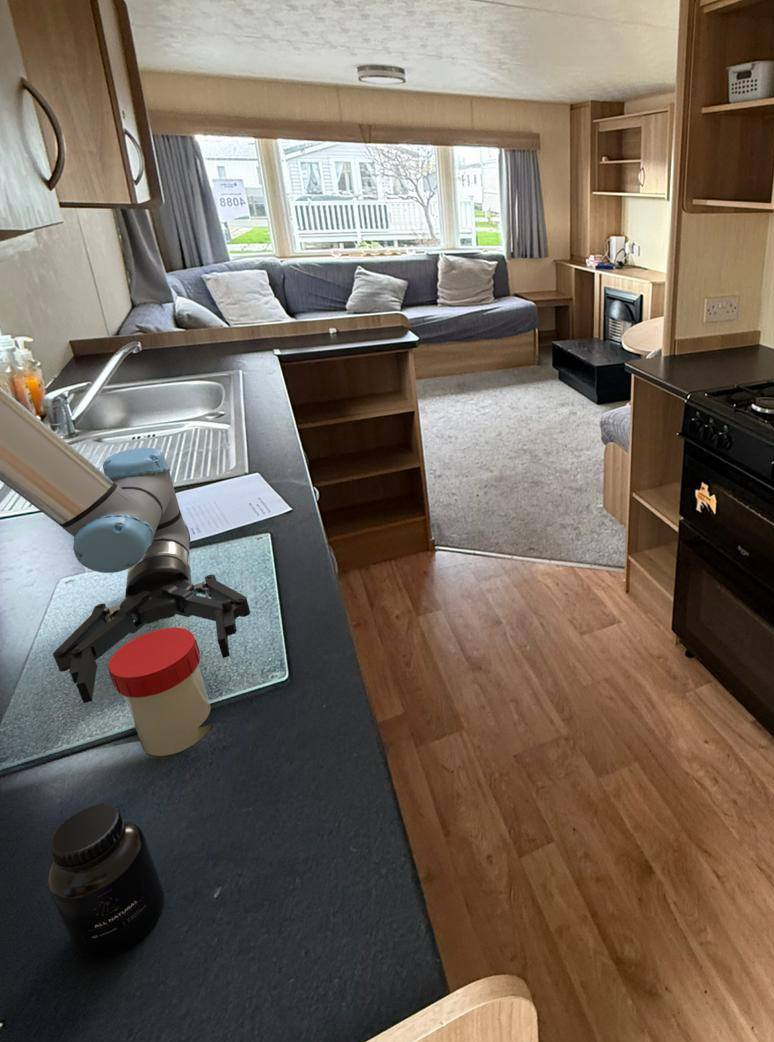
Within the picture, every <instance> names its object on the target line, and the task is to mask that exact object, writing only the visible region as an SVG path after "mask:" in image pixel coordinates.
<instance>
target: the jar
mask: <svg viewBox="0 0 774 1042" xmlns="http://www.w3.org/2000/svg"><path fill="white" fill-rule="evenodd" d="M123 699H124V702H125V704H126V707H127V710H128V712H129V715H130V718H131V721H132V723H133V727H134V728H135V731H136V735H137V737H138V739H139V742H140V745H141V748H142V750H143V751H144V752H145V753H146V754H148V755H150V756H153V757H165V756H171V755H174V754H177V753H180V752H183V751H185V750H188V749H189V748H190V747H192V746H194V745H196V744H197V743H198V742H200V741H201V740H202V739H203V738H205V736H206V735H207V734H208V733H209V732H210V730H211V729H212V727H213V724H209V725H204V726H202V725H203V723H205V721H206V720H207V719H208V717H209V715H210V713H211V709H212V705H211V701H210V698H209V695H208V692H207V688H206V685H205V682H204V679H203V675H202V671H201V668H200V664H198V666H197V668H196V669H195V671H194V672H193V673H192V674H191V675H190V676H189V677H188V678H186V679H185V680H184V681H182V682H181V683H179V684H178V685H176V686H174V687H172V688H170V689H168V690H166V691H164V692H161V693H158V694H155V695H151V696H147V697H139V698H132V697H126V696H123Z"/></svg>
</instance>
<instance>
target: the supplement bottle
mask: <svg viewBox="0 0 774 1042" xmlns="http://www.w3.org/2000/svg"><path fill="white" fill-rule="evenodd" d="M49 848H50V849H49V851H50V853H51V855H52V860H53V862H52V864H51V866H50V869H49V871H48V875H47V880H46V881H47V889H48V892H49V894H50V897H51V899H52V901H53V903H54V905H55V907H56V910H57V912H58V915H59V916H60V919H61V921H62V923H63V925H64V927H65V930H66V932H67V934H68V937H69V938H70V941H71V944H72V945H73V947H74V949H75V950H76V952H77V953H78V954H79V956H82V957H83V958H86V959H89V960H101V959H102V960H103V959H106V958H110V957H113V956H116V955H118V954H120V953H122V952H125V951H126V950H127V949H129V948H130V947H132V946H133V945H135V944H136V943H137V942H139V941H140V940H141V939H142V938H143V937H145V935H146V934H147V933H148V932H149V931H150V930H151V929H152V927H153V926H154V924H155V923H156V922H157V920H158V918H159V916H160V914H161V912H162V910H163V908H164V902H165V893H164V889H163V885H162V883H161V879H160V877H159V874H158V871H157V867H156V865H155V863H154V860H153V857H152V853H151V851H150V848H149V845H148V843H147V840H146V837H145V834H144V833H143V830H142V829H141V828H140V827H139V825H137V824H136V823H133V822H130V821H126V820H124V818H123V817H122V815H121V813H120V810H119V809H118V808H117V807H116V806H114V805H113V804H109V803H99V804H95V805H90V806H88V807H85V808H83V809H81V810H79V811H77V812H76V813H74V814H72V815H71V816H69V817H68V818H67V819H65V820H64V821H63V822H62V823H60V825H59V826H58V827H57V828H56V830H55V831H54V833H52V836H51V839H50V843H49Z"/></svg>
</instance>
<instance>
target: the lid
mask: <svg viewBox="0 0 774 1042" xmlns="http://www.w3.org/2000/svg"><path fill="white" fill-rule="evenodd" d="M200 661H201V652H200V648H199V645H198V643H197V640H196V639H195V635H194V634H193V632H191V631H190V630H189V629H186V628H182V627H167V628H160V629H156V630H153V631H150V632H147V633H144V634H142V635H139V636H137V637H135V638H133V639H132V640H130V641H128V642H127V643H125V644H124V645H123V646H121V647H120V648H119V649H118V650H116V651H115V652H114V654H113V655H112V656H111V658H110V660H109V661H108V673H109V676H110V679H111V681H112V685H113V686H114V688H115V690H116V691H117V693H118V694H119V695H120V696H123V697H124V696H126V697H132V698H139V697H147V696H151V695H155V694H158V693H161V692H164V691H166V690H168V689H170V688H172V687H174V686H176V685H178V684H179V683H181V682H182V681H184V680H185V679H186V678H188V677H189V676H190V675H191V674H192V673H193V672H194V671H195V669H196V668H197V666H198V665H200Z"/></svg>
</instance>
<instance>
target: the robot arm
mask: <svg viewBox="0 0 774 1042" xmlns="http://www.w3.org/2000/svg"><path fill="white" fill-rule="evenodd" d="M102 470H103V472H102V471H101V469H99V468H98V467H96V466H95V465H94V464H93V463H92V462H91V461H89V460H88V459H87V458H86V457H84V456H83V454H81V453H80V452H79V451H77V449H75V448H74V447H73V446H71V444H69V443H68V442H67V441H65V440H64V439H63V438H62V437H61V436H60V435H58V434H57V433H56V432H55V431H54V430H52V429H51V428H50V427H49V426H48V425H46V423H45V422H43V421H41V419H39V418H38V417H37V416H36V415H34V413H32V412H31V411H30V410H28V409H27V407H25V405H23V404H22V403H20V402H19V401H18V399H15V398H14V397H13V395H11V394H10V393H9V392H7V391H6V390H5V389H4V388H2V387H1V386H0V482H1V483H2V484H4V485H5V486H7V487H8V488H9V489H11V490H12V491H13V492H15V493H16V494H17V495H18V496H20V497H22V499H24V500H25V501H27V502H28V503H29V504H31V505H32V506H33V507H35V508H36V509H37V510H39V511H40V512H41V513H43V514H44V515H45V516H46V517H48V518H49V519H50V520H52V521H53V522H55V524H57V525H58V526H60V527H61V528H62V529H63V530H64V531H66V532H67V533H68V534H69V535H71V536H72V537H73V545H72V549H73V553H74V555H75V558H76V560H77V561H78V563H80V564H81V565H82V566H84V568H86V569H88V570H90V571H93V572H97V573H102V574H114V573H119V572H123V571H126V570H127V575H126V576H127V577H126V584H125V594H124V600H122V601H121V602H120V604H118V605H114V606H110V607H107V605H106V603H99V604H97V605H95V606H94V607H93V610H92V612H91V614H90V615H89V616H88V617H87V618H86V619H85V621H84V622H82V624H81V625H79V627H77V628H76V629H75V630H74V632H72V633H71V634H70V635H69V636H68V637H67V638H66V639H65V640H64V641H63V642H62V643H61V644H60V645H59V646H58V647H57V649H55V650H54V652H53V653H52V655H53V658H54V660H55V663H56V666H57V668H58V671H59V672H62V673H63V672H66V671H68V672H69V675H70V678H71V680H72V682H73V684H75V686H76V688H77V690H78V693H79V696H80V698H81V701H82V704H88V703H91V702H93V696H94V690H95V683H96V676H97V671H98V664H97V660H98V659H100V658H101V657H102V656H103V655H104V654H106V653H107V652H108V651H110V649H112V648H113V647H115V645H116V644H118V643H119V642H121V641H122V640H123V639H124V638H126V637H127V636H128V635H130V634H135V633H137V632H138V631H139V630H140V629H141V628H143V627H144V626H146V625H149V624H152V623H155V622H158V621H161V620H165V619H170V618H173V617H175V616H176V615H178V616H180V617H181V616H182V617H185V618H190V617H192V616H193V617H197V618H201V619H205V620H210V621H213V622H215V627H216V628H215V629H216V639H217V644H218V647H219V650H220V653H221V657H222V659H225V658H229V657H230V656H231V655H230V647H229V646H230V645H229V637H228V636H231V635H235V634H237V629H238V628H237V622H236V620H237V618H239V617H240V618H241V617H242V618H245V617H248V616H249V615H250V614H251V610H250V606H249V602H248V599H247V596H245V594H242V593H240V592H238V591H237V590H235V589H233V588H231V587H229V586H227V585H226V584H223V583H222V582H220V581H218V580H217V578H216V575H215V574H213V573H212V574H211V573H210V574H208V575H206V576H205V577H204V581H202V582H200V583H197V584H194V583H192V568H191V557H190V556H191V554H190V553H191V552H190V545H191V544H190V542H191V534H190V530H189V527H188V524H187V523H186V521H185V520H184V518H183V514H182V512H181V508H180V505H179V502H178V497H177V494H176V490H175V486H174V483H173V479H172V475H171V468H170V467H169V465H168V463H167V459H166V457H165V455H164V452H162V450H160V449H157V448H155V447H136V448H131V449H125V450H121V451H119V452H117V453H114V454H112V455H110V456H108V457H107V458H105V460H104V462H103V464H102ZM199 594H200V595H199ZM201 594H202V596H201Z"/></svg>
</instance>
